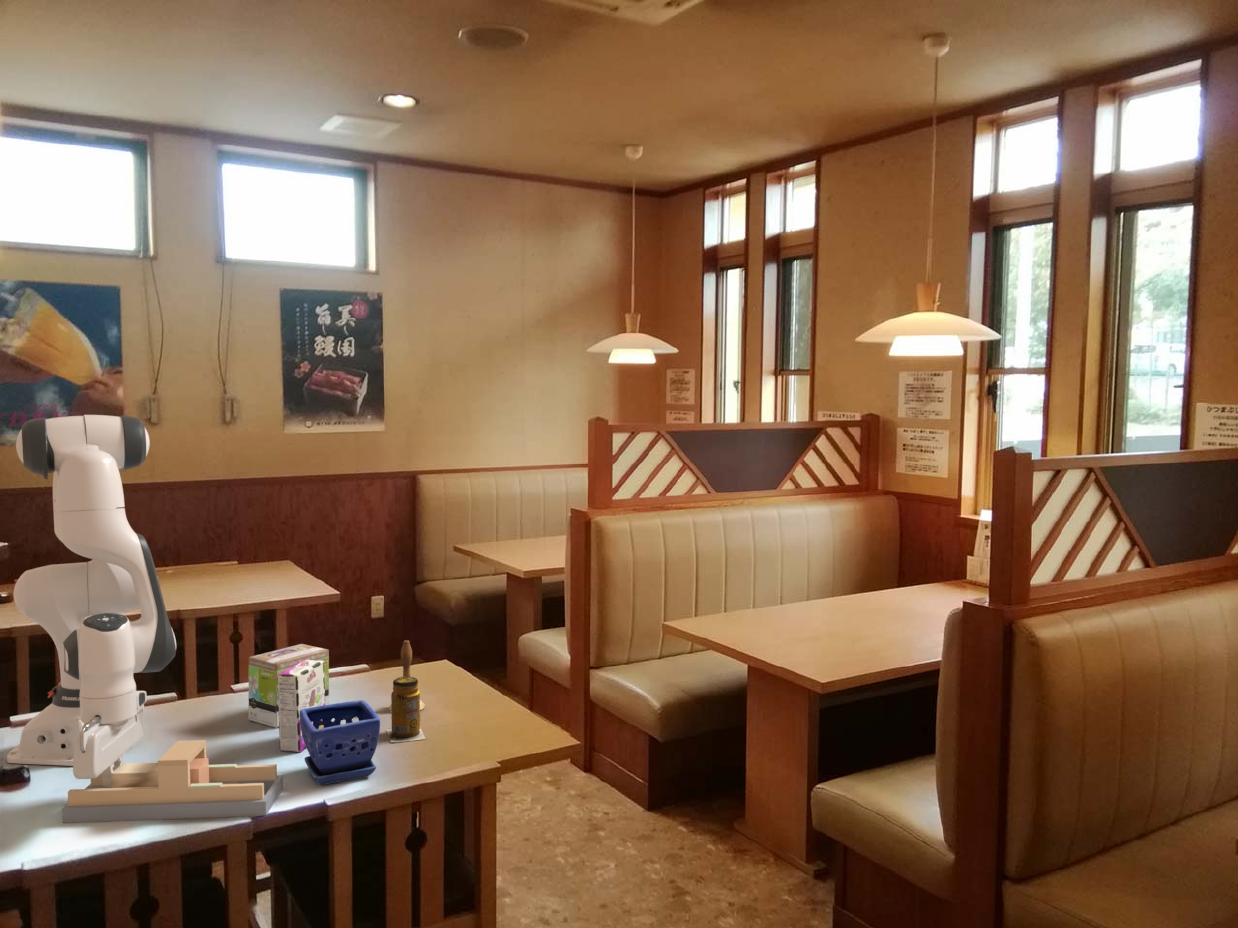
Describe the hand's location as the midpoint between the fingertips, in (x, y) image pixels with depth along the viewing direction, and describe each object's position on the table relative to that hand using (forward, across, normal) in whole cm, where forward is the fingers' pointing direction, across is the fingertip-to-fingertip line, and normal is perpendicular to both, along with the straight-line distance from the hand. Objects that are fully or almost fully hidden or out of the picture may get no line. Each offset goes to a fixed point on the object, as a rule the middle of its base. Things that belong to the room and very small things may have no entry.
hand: (111, 783), depth 169 cm
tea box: (+5, +48, -19) cm, 51 cm away
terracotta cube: (+2, 0, -13) cm, 14 cm away
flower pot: (+5, +13, -37) cm, 39 cm away
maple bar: (+2, 0, -6) cm, 6 cm away
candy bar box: (+5, +30, -26) cm, 40 cm away
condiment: (+5, +33, -47) cm, 58 cm away
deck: (+4, 0, -11) cm, 12 cm away
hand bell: (+5, +51, -45) cm, 68 cm away
